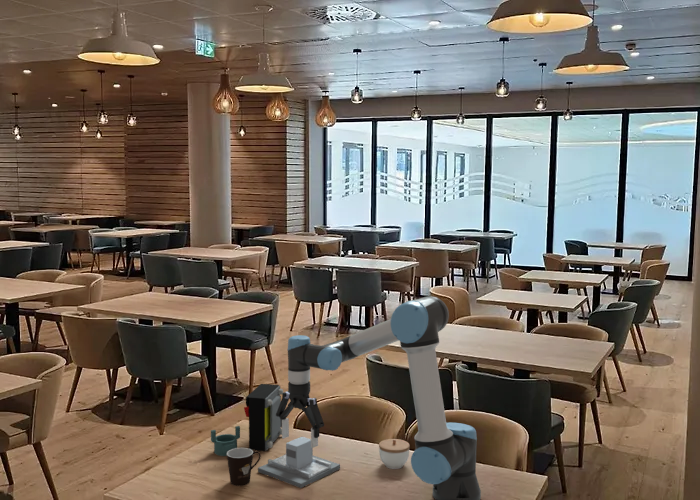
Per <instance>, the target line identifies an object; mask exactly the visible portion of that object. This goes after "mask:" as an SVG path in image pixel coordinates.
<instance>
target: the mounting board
mask: <svg viewBox="0 0 700 500" xmlns="http://www.w3.org/2000/svg"><path fill="white" fill-rule="evenodd" d="M313 458H316V459H319V460H322V461H325V462H328V463H331V468H330V469H328V470H326V471H324V472H322V473H320V474H318V475H316V476H314V477H312V478H310V479H307V478H304V477H302V476H299V475H296V474H293V473H291V472H288V471H285V470H282V469H280V468H277V467H274V466H271V465H269V464H268V463H266V464H264V465H261V466H259V467H258V468H257V473H260V474H261V475H262V474H263V475H265V476H267V475H268V477H269V478H270V477H271V478H273V477H274V478H273V479H275V478H276V480H278V479H279V480H278V481H281V482H283V481H284V482H283V483H287V484H288V485H292V486H294V487H297V488H299V489H302V487H303V488H305V487H306V485H307V486H308V484H309V485H311V484H313V483H314V482H316V481H319V480H320V479H323V478H325V477H326V476H329V475H331V474H332V473H334V472H336V471H339V470H341V463H337V462H334V461H331V460H328V459H325V458H322V457H319V456H316V455H313ZM310 483H311V484H310ZM304 486H305V487H304Z"/></svg>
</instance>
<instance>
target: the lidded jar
mask: <svg viewBox="0 0 700 500" xmlns="http://www.w3.org/2000/svg"><path fill="white" fill-rule="evenodd" d="M378 449H379V450H378V451H379V453H378V454H379V458H380V460H381V462H382V463H383V464H384V465H385V467H386V468H387V469H391V470H399V469H402V468H403V466H404V465H406V463H407V461H408V459H409V456H410V443H409V442H408V441H406V440H403V439H400V438H399V439H397V438H389V439H388V438H387V439H383V440H381V441H380V442H379V443H378Z"/></svg>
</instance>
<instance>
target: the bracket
mask: <svg viewBox="0 0 700 500" xmlns="http://www.w3.org/2000/svg"><path fill="white" fill-rule="evenodd" d="M234 428H235V434H231V433H225V434H220V435H219V434H218V435H217V431H216V429H210V442H211V443H213V449H214V451H213V452H214V454H215V455H217V456H218V457H227V452H228V451H229V450H231V449H235V448H238V439H240V438H241V427H240V425H237V426H235V427H234Z"/></svg>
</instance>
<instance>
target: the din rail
mask: <svg viewBox="0 0 700 500" xmlns="http://www.w3.org/2000/svg"><path fill="white" fill-rule="evenodd" d="M267 464H269V465H271V466H274V467H277V468H280V469H282V470H285V471H288V472H291V473H293V474H296V475H299V476H302V477H304V478H307V479H310V478H312V477H314V476H316V475H318V474H320V473H322V472H324V471H326V470H328V469H330V468H331V463H328V462H325V461H322V460H319V459H316V458H313V462H312V463H310V464H308V465H305V466H303V467H301V468H299V469H297V468H294V467H291V466H289V465H286V453H285V454H283V455H281V456H279V457H277V458H273V459H272V458H269V459H267Z"/></svg>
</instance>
